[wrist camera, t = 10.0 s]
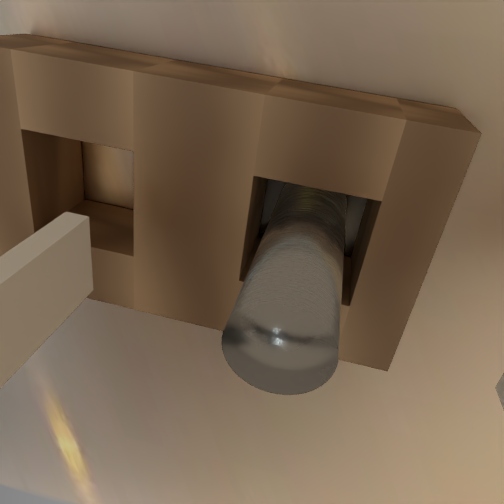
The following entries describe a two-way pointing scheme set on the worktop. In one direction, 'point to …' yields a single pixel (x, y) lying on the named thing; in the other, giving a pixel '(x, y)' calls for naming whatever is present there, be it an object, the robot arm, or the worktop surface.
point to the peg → (292, 296)
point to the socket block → (224, 178)
